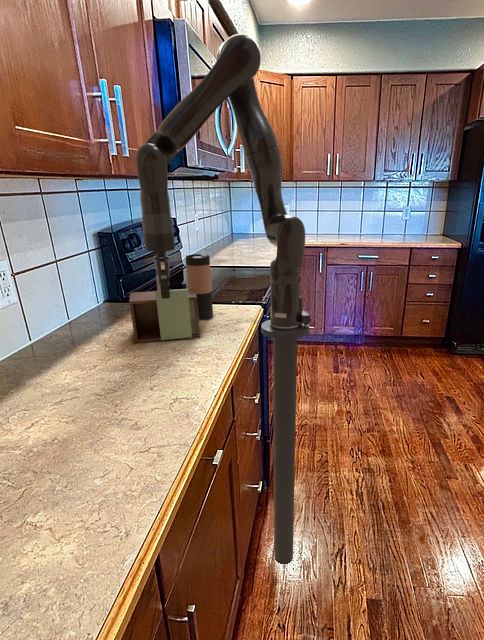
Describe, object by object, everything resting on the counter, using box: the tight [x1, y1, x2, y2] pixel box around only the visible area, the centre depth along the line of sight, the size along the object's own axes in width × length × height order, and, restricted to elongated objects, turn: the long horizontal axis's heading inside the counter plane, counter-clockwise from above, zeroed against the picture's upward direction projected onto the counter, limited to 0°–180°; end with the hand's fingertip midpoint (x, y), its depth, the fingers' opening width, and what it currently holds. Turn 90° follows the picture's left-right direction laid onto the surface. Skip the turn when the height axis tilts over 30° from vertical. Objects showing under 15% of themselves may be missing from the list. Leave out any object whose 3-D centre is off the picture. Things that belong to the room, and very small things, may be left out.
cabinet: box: [128, 288, 201, 344], centre depth 122 cm, size 18×10×12 cm, turn 108°
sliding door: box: [154, 275, 192, 341], centre depth 117 cm, size 9×2×18 cm, turn 108°
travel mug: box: [185, 253, 214, 321], centre depth 137 cm, size 8×8×20 cm
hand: (165, 295), depth 115 cm, fingers open, 5 cm apart
